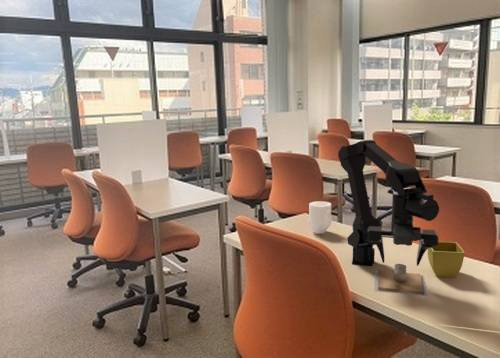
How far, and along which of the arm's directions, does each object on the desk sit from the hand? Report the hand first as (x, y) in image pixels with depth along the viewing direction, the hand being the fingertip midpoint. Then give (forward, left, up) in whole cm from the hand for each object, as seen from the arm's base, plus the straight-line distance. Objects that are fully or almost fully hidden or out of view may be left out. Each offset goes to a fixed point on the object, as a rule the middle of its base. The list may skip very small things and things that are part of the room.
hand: (400, 263), depth 119 cm
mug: (-28, +42, -6) cm, 51 cm away
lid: (0, 0, -6) cm, 6 cm away
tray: (0, 0, -6) cm, 6 cm away
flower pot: (+13, +10, -6) cm, 18 cm away
